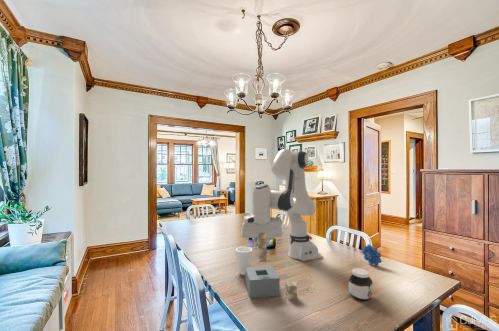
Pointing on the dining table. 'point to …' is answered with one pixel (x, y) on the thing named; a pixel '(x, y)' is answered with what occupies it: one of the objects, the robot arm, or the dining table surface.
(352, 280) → the spread jar
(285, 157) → the robot arm
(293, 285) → the short pin
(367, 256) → the grapes
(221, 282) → the dining table surface
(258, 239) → the long pin
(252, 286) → the hole block
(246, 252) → the foam cup
